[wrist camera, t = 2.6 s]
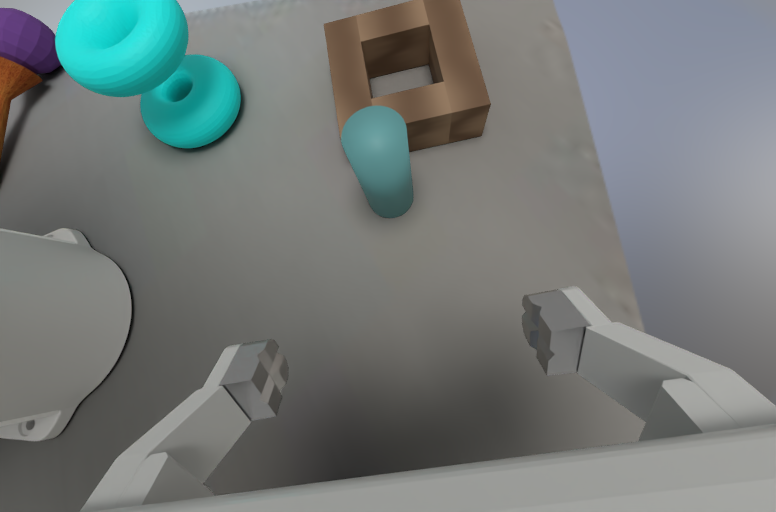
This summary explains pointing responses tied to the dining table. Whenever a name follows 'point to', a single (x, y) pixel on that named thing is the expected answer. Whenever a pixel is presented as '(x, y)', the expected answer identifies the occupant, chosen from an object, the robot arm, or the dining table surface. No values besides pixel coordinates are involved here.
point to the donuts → (149, 67)
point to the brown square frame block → (408, 50)
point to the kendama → (22, 57)
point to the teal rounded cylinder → (380, 158)
